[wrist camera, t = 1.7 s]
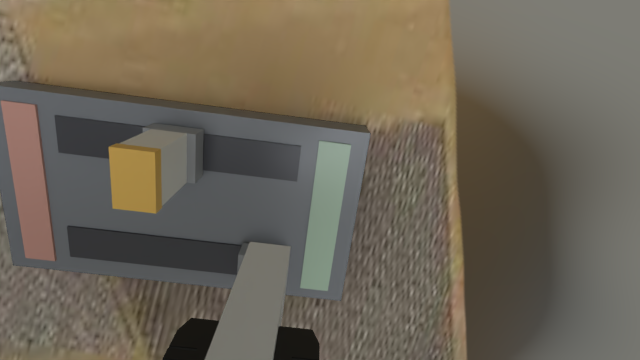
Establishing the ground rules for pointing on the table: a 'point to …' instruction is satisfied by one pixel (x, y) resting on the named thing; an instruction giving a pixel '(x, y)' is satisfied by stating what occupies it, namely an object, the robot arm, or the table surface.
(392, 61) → the table surface
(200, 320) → the robot arm
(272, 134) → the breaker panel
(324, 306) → the table surface
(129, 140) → the handle
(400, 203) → the table surface
